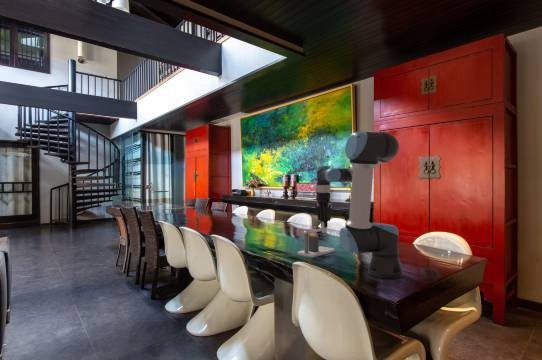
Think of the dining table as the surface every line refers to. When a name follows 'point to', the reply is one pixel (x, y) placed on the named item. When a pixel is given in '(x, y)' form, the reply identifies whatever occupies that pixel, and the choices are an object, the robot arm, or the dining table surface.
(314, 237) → the orange and black block
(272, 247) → the dining table surface
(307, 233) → the bar
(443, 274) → the dining table surface
